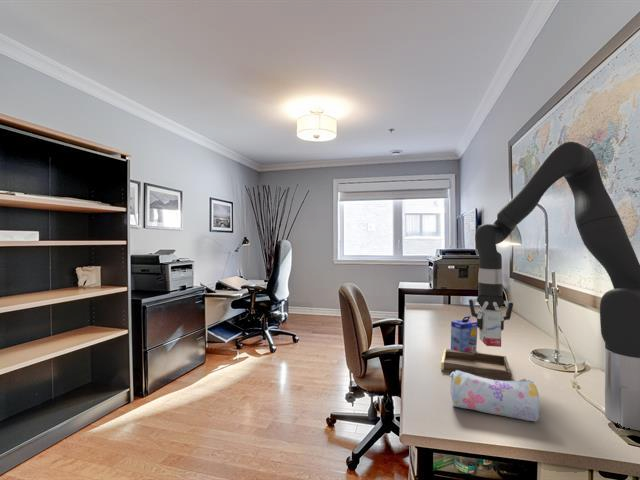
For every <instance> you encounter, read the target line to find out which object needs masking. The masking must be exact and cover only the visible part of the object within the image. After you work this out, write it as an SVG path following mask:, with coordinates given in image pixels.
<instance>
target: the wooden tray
mask: <svg viewBox="0 0 640 480" xmlns="http://www.w3.org/2000/svg"><path fill="white" fill-rule="evenodd" d="M508 361H509V360H508V358H507V356H505V355H499V354H498V355H497V354H490V353H483V352H477V351H475V352H466V351H458V350H451V348H450V349H449V348H443V353H442V358H441V362H440V364H441V365H440V366H441V368H440V371H441V372H442V373H443V372H444V373H450V374H451V373H452V372H455V371H456V370H459V371H462V372H466V373H469V374H472V375H475V376H479V377H483V378H487V379H491V380H494V379H495V380H498V381H512V369H511V367H510V364H509V362H508Z"/></svg>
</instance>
